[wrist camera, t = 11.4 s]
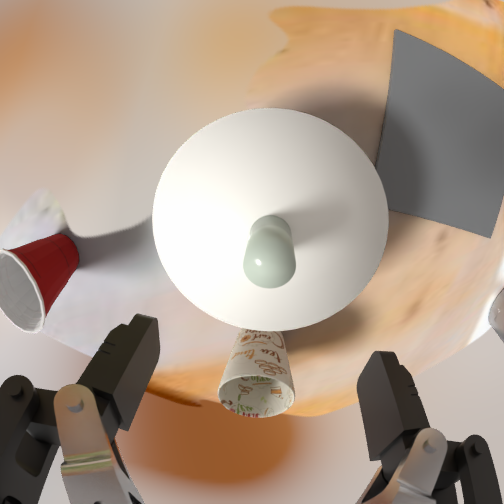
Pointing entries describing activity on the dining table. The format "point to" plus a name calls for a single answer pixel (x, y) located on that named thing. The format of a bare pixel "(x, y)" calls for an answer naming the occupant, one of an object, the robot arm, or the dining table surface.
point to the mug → (257, 375)
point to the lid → (270, 219)
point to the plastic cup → (35, 279)
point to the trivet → (442, 139)
